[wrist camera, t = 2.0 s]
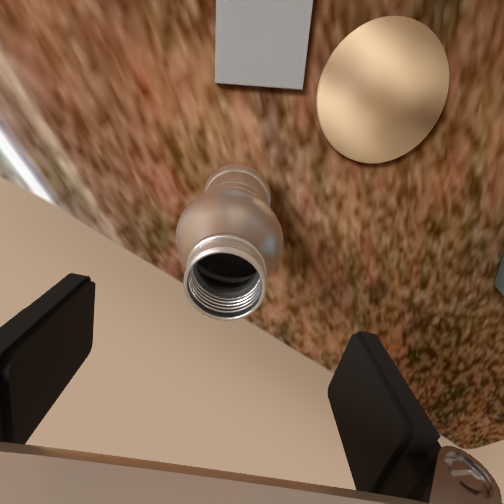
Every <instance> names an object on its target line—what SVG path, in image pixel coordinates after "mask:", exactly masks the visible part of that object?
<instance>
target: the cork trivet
mask: <svg viewBox="0 0 504 504" xmlns="http://www.w3.org/2000/svg"><path fill="white" fill-rule="evenodd" d="M448 88H449V65H448V61H447V56H446V53H445V51H444V48H443V46H442V44H441V42H440V41H439V39H438V38H437V36H436V35H435V34H434V33H433V32H432V31H431V30H430V29H429V28H428V27H427V26H425V25H424V24H422V23H421V22H419V21H417V20H414V19H412V18H408V17H404V16H386V17H381V18H378V19H374V20H372V21H369V22H367V23H365V24H363V25H362V26H360V27H358V28H357V29H355V30H354V31H353V32H352V33H350V34H349V35H348V36H347V37H346V38H345V39H344V40H343V41H342V42H341V43H340V44H339V45H338V46H337V47H336V48H335V50H334V51H333V52H332V54H331V55H330V57H329V59H328V60H327V62H326V64H325V66H324V68H323V70H322V73H321V76H320V79H319V83H318V87H317V95H316V111H317V118H318V122H319V125H320V128H321V130H322V133H323V135H324V136H325V138H326V140H327V141H328V142H329V144H330V145H331V146H332V147H333V148H334V149H335V150H336V151H337V152H339V153H340V154H342V155H343V156H345V157H347V158H349V159H352V160H355V161H358V162H363V163H382V162H387V161H390V160H393V159H396V158H398V157H400V156H402V155H404V154H406V153H407V152H409V151H411V150H412V149H413V148H415V147H416V146H417V145H418V144H419V143H420V142H421V141H422V140H423V139H424V138H425V137H426V136H427V135H428V134H429V132H430V131H431V130H432V128H433V127H434V125H435V124H436V122H437V121H438V119H439V117H440V115H441V113H442V110H443V107H444V105H445V102H446V98H447V94H448Z"/></svg>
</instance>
